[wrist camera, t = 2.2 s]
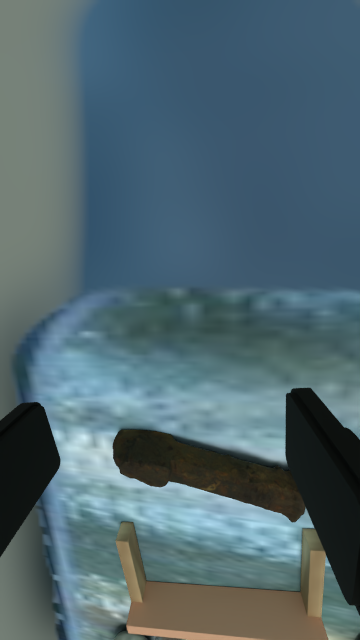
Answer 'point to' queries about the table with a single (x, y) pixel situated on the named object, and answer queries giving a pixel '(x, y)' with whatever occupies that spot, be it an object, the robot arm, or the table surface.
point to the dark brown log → (205, 471)
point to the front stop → (222, 614)
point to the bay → (309, 567)
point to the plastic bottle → (129, 636)
